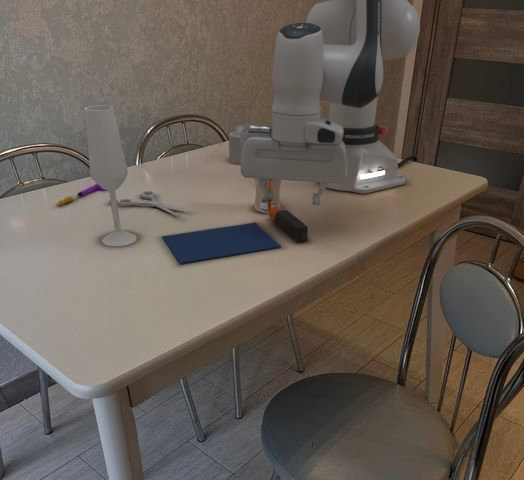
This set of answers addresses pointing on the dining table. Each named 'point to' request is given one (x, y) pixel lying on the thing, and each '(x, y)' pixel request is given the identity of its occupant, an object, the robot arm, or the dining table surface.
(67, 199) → the purple and yellow rod
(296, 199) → the dining table surface
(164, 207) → the scissors
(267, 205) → the beer glass
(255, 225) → the mat
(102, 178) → the champagne flute
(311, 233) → the dining table surface
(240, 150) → the lumpy-topped squat cylinder
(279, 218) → the marker
